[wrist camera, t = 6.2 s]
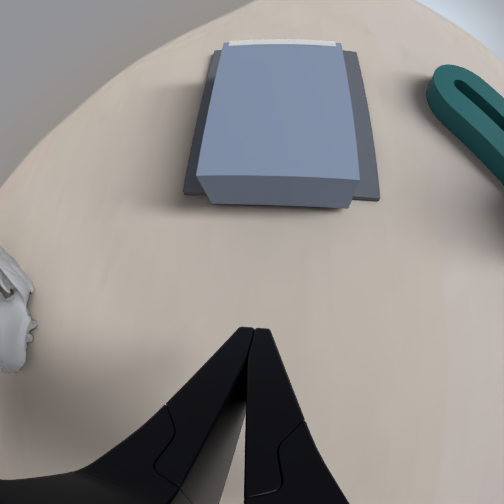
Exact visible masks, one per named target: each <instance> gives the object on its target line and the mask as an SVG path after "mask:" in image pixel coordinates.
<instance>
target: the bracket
mask: <svg viewBox="0 0 504 504" xmlns="http://www.w3.org/2000/svg"><path fill="white" fill-rule="evenodd" d="M426 96H427V101H428V104H429V106H430V108H431V110H432V111H433V113H434V114H435V116H436V117H437V118H438V119H439V121H440V122H441V123H442V124H443V125H444V126H446V127H447V128H448V129H449V130H450V131H451V132H452V133H453V134H454V135H455V136H457V137H458V138H459V139H460V140H461V141H462V142H463V143H464V144H465V145H466V146H467V147H468V148H469V149H470V150H471V151H472V152H473V153H474V154H475V155H476V156H477V157H478V158H479V159H480V160H481V161H482V162H483V163H484V164H485V165H486V166H487V167H488V168H489V169H490V170H491V171H492V173H493V174H494V175H495V176H496V177H497V178H498V179H499V180H500V181H501V183H502V184H503V185H504V98H503V97H502V96H501V95H500V94H499V93H497V92H496V91H495V90H494V89H493V88H492V87H491V86H490V85H488V84H487V83H486V82H485V81H484V80H483V79H481V78H480V77H479V76H477V75H476V74H474V73H473V72H471V71H469V70H467V69H465V68H462V67H459V66H455V65H442V66H440V67H438V68H437V69H436V70H435V72H434V74H433V77H432V79H431V81H430V84H429V86H428V88H427V93H426Z"/></svg>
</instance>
